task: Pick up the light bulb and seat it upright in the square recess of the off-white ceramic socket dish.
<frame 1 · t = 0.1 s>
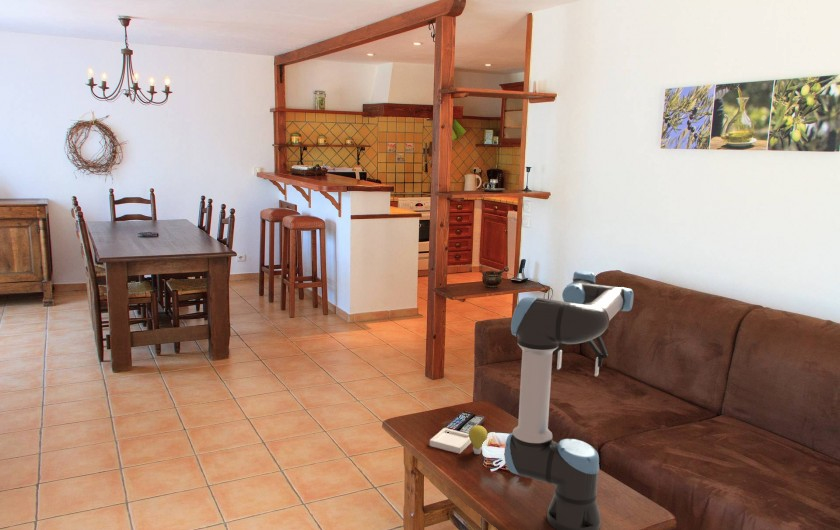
hand: (577, 371, 229), 28 cm above the table, fingers open, 13 cm apart
light bulb: (477, 453, 226), on the table
socket dish: (451, 443, 233), on the table
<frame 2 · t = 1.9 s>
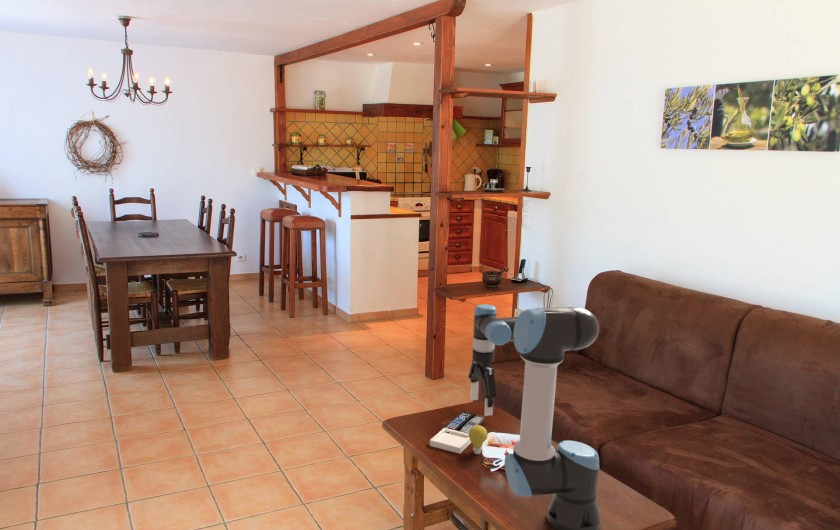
hand: (481, 407, 223), 17 cm above the table, fingers open, 13 cm apart
nothing on the table moved.
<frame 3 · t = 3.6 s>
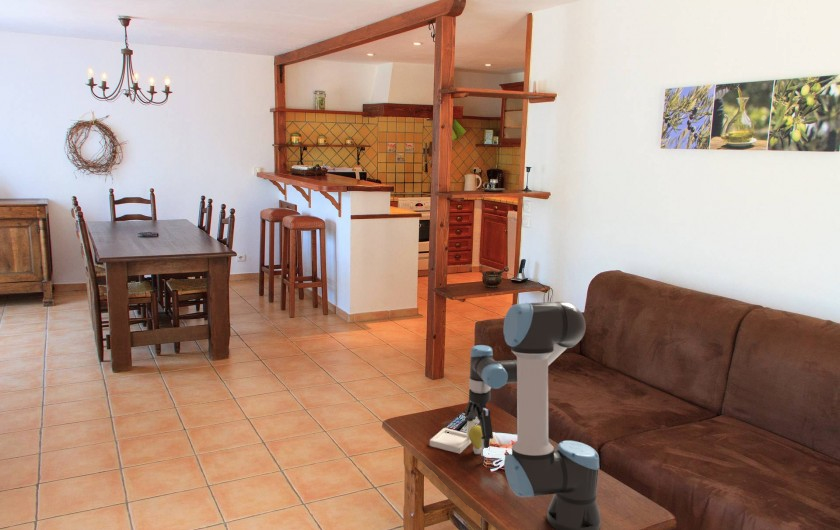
hand: (477, 446, 226), 2 cm above the table, fingers open, 13 cm apart
nothing on the table moved.
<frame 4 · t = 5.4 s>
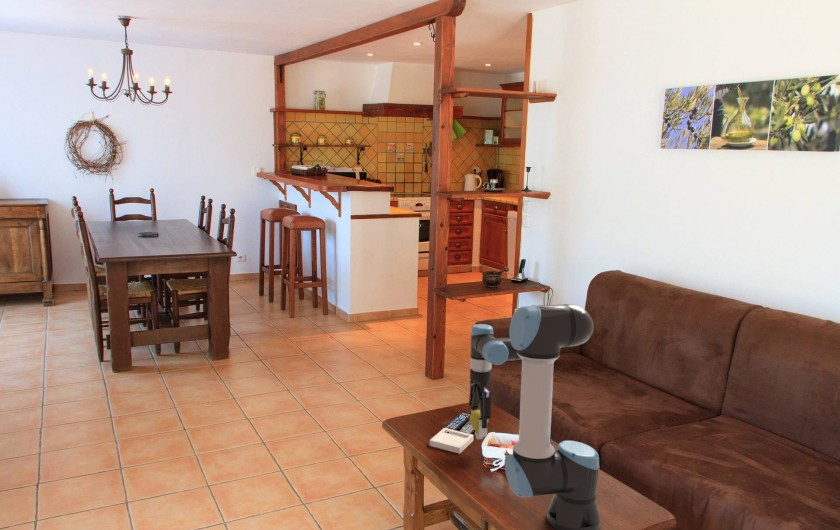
hand: (478, 431, 224), 8 cm above the table, fingers closed on light bulb, 7 cm apart
light bulb: (479, 438, 224), point 6 cm above the table, touching gripper
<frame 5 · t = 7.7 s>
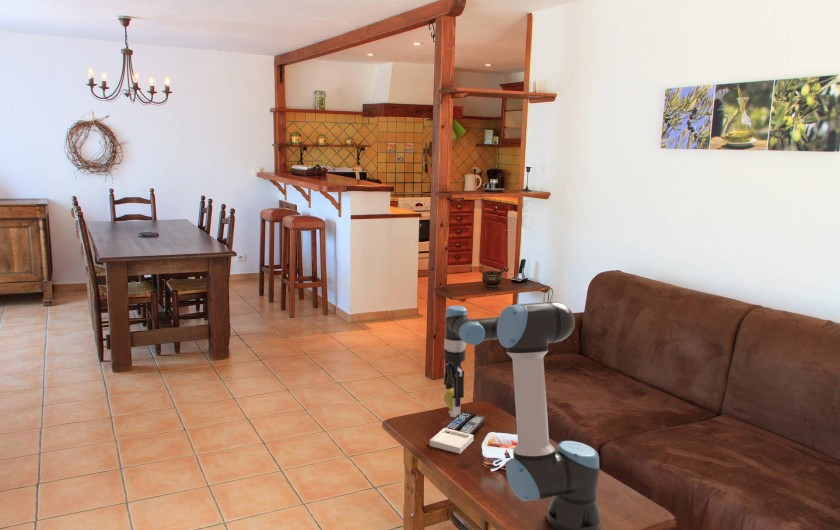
hand: (452, 409, 231), 13 cm above the table, fingers closed on light bulb, 7 cm apart
light bulb: (453, 416, 230), point 11 cm above the table, touching gripper
when the fingers open (3 cm above the table, at t = 10.1 s): light bulb stays where it is, resting on socket dish.
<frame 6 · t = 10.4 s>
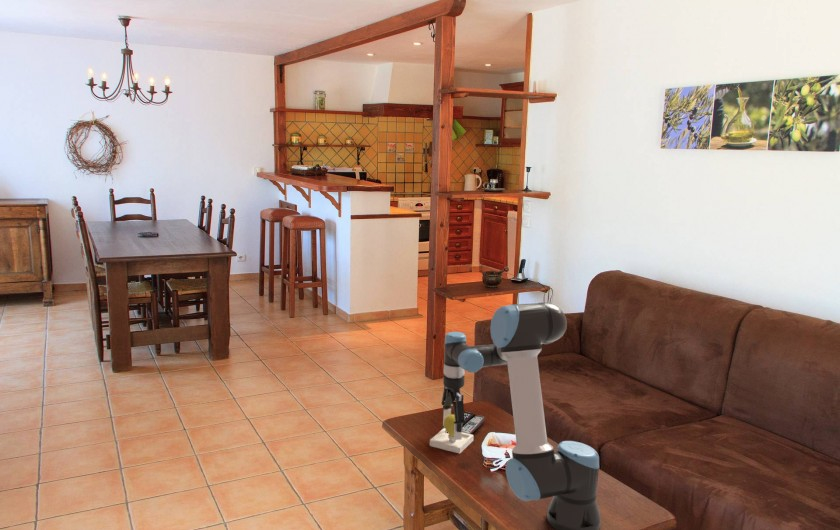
hand: (452, 432, 232), 4 cm above the table, fingers open, 11 cm apart
light bulb: (452, 441, 232), point 1 cm above the table, touching socket dish
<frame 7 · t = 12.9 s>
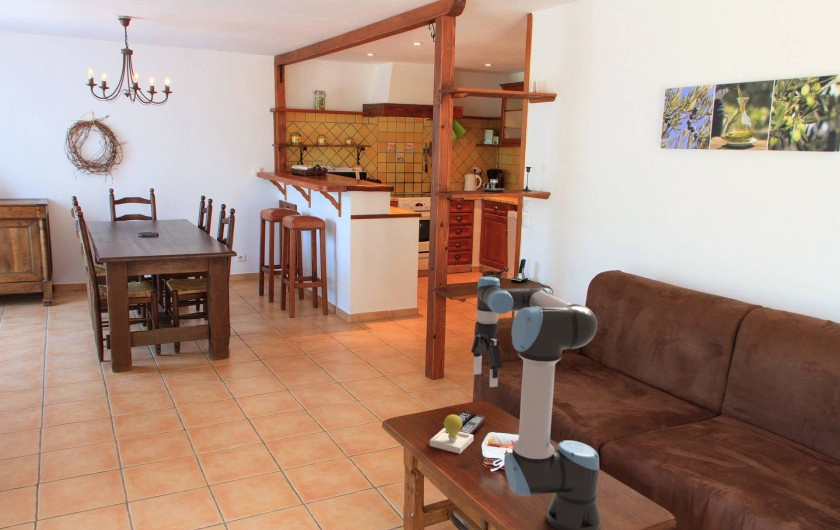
hand: (485, 380, 224), 26 cm above the table, fingers open, 13 cm apart
nothing on the table moved.
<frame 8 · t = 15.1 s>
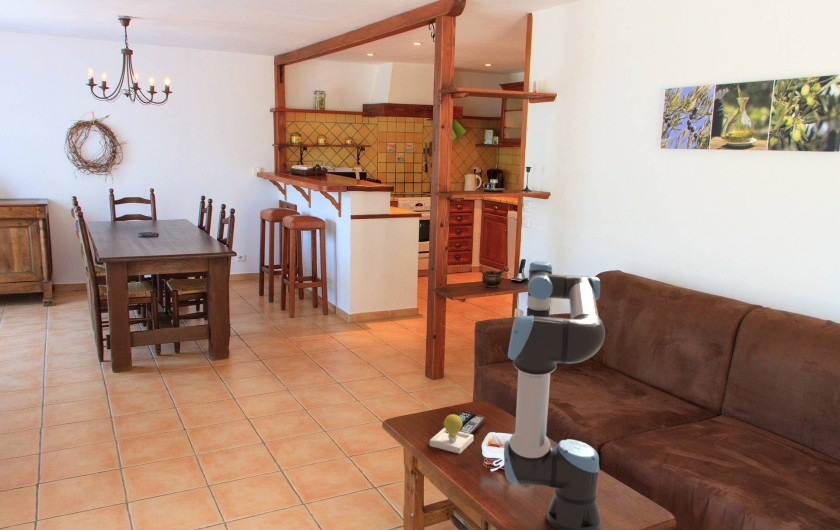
hand: (534, 367, 218), 33 cm above the table, fingers open, 13 cm apart
nothing on the table moved.
at the end: light bulb 0.7 cm from the socket dish (horizontally); light bulb point 1.0 cm above the table; the gripper is holding nothing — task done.
